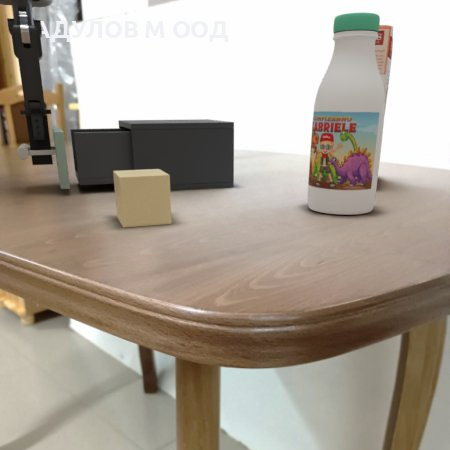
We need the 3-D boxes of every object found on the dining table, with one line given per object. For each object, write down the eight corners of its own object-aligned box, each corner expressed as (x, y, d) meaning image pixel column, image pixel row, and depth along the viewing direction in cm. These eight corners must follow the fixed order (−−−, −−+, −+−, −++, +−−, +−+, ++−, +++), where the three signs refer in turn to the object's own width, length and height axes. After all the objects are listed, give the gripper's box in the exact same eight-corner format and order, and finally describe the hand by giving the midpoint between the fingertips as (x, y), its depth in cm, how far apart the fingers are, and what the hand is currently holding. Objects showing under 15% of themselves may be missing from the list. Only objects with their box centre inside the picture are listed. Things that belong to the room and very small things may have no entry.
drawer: (21, 191, 64) (12, 132, 61) (24, 179, 74) (16, 128, 71) (160, 184, 69) (157, 130, 67) (145, 173, 79) (142, 126, 77)
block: (123, 227, 49) (119, 177, 47) (116, 217, 54) (112, 170, 52) (171, 223, 51) (169, 174, 49) (161, 214, 55) (159, 168, 53)
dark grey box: (135, 192, 68) (130, 123, 65) (122, 180, 79) (118, 120, 76) (233, 187, 72) (234, 122, 69) (208, 175, 84) (208, 119, 80)
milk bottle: (320, 201, 62) (333, 23, 55) (381, 207, 59) (404, 17, 51) (296, 211, 56) (307, 13, 49) (362, 219, 53) (385, 5, 45)
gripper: (49, -44, 55) (72, 169, 64) (48, -21, 67) (68, 158, 76) (-23, -51, 53) (11, 171, 62) (-11, -25, 64) (16, 159, 73)
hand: (42, 163), depth 69 cm, fingers closed
